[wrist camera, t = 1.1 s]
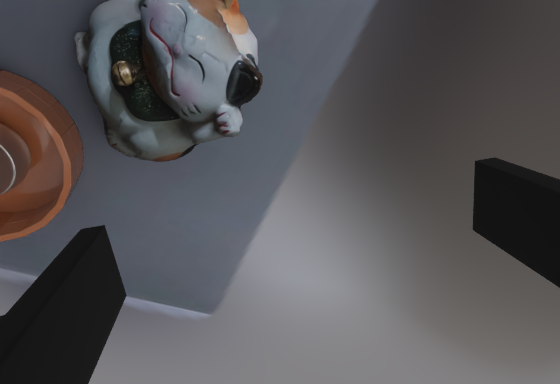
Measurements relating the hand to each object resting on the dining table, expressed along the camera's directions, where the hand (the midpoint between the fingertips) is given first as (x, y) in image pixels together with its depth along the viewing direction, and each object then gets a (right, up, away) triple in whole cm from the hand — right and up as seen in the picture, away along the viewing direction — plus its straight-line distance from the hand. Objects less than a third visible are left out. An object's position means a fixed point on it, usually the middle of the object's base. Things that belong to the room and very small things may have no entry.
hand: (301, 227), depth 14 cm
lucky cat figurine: (-11, +14, +23) cm, 29 cm away
